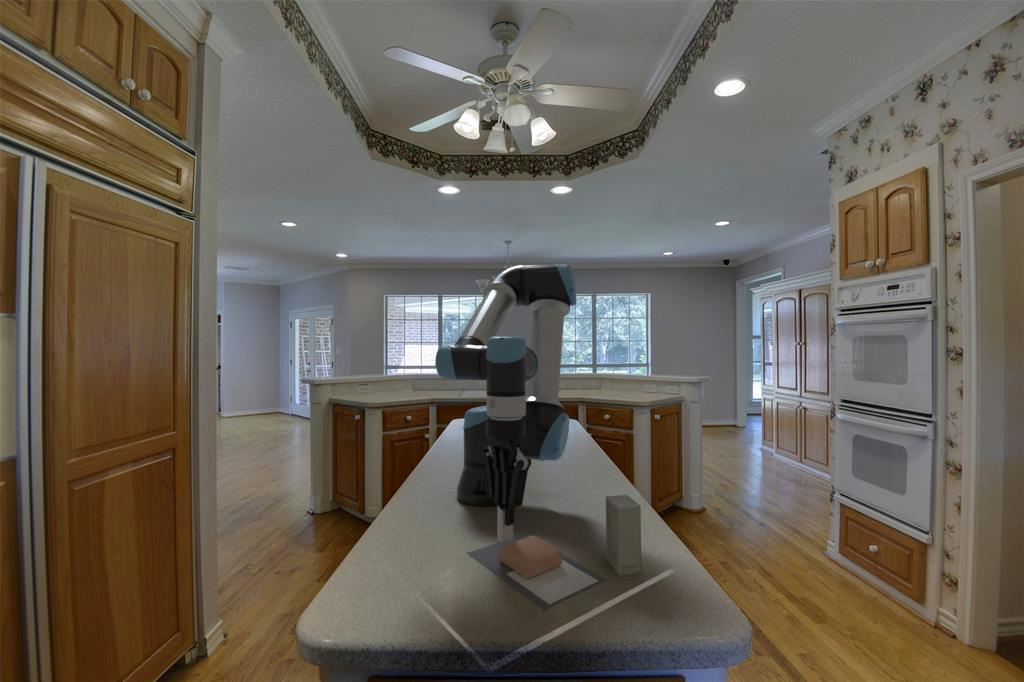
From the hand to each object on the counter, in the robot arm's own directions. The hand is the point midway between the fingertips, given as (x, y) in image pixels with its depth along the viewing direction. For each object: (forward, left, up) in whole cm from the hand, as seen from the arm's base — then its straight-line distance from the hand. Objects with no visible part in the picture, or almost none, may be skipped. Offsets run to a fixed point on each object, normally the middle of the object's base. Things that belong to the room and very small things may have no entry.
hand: (505, 539), depth 87 cm
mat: (+8, 0, -2) cm, 8 cm away
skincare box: (+17, +13, -3) cm, 22 cm away
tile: (+3, 0, 0) cm, 3 cm away
